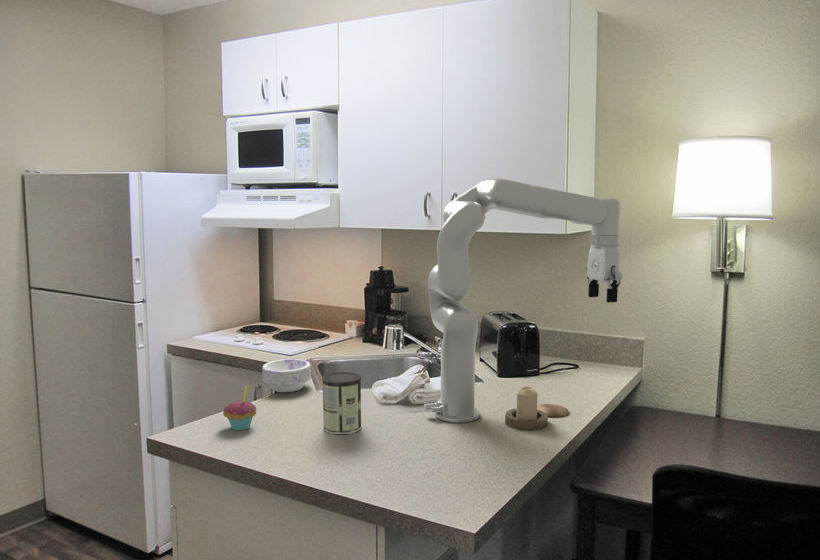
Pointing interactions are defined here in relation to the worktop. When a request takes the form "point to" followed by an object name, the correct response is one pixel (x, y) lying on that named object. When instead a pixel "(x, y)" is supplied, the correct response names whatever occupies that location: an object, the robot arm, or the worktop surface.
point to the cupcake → (240, 413)
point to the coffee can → (342, 403)
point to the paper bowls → (286, 374)
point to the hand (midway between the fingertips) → (602, 299)
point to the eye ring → (526, 421)
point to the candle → (526, 404)
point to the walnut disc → (553, 410)
